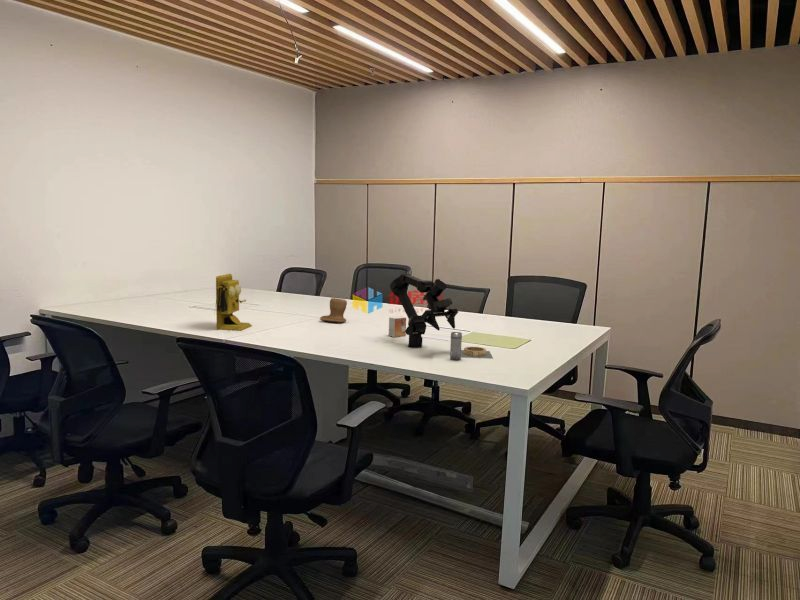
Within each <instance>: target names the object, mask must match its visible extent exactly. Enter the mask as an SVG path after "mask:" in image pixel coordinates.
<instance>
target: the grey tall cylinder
mask: <svg viewBox="0 0 800 600" xmlns="http://www.w3.org/2000/svg"><path fill="white" fill-rule="evenodd" d="M462 338H463V332H460V331H459V332H458V331H451V333H450V349H449V353H450V354H449V360H451V361H457V362H458V361H461V360H462V358H461V350H462V340H463V339H462Z"/></svg>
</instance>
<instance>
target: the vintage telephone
mask: <svg viewBox="0 0 800 600" xmlns="http://www.w3.org/2000/svg"><path fill="white" fill-rule="evenodd" d="M241 293H242V287H241V286H240V280H239V279H233V275H232V274H231V273H227V274H221V275H217V276H216V277H215V307H214V309H215V312H216V331H228V332H229V331H235V332H236V331H238V332H239V331H240V332H242V331H244V330H246V329H249V328H250V327H252V326H253V325H252V324H251V323H250V322H241V321H240V319H239V318H238V317H237V316H236V315H234V314H233V313H236V312H239V311H240V304H242V303H246V302H247V299H243V300H240V295H241ZM214 316H215V313H214Z"/></svg>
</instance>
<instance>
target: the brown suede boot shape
mask: <svg viewBox="0 0 800 600" xmlns="http://www.w3.org/2000/svg"><path fill="white" fill-rule="evenodd" d="M347 304H348V302H347V300H346V299H343V298H336V297H331V298H330V300H329V312H330V313H329V315H328V314H327V315H322V316H320V318H319V320H320V321H323V322H327V323H345V322H346V321H347V318H345V317H344V314H345V312H346V309H347Z"/></svg>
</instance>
